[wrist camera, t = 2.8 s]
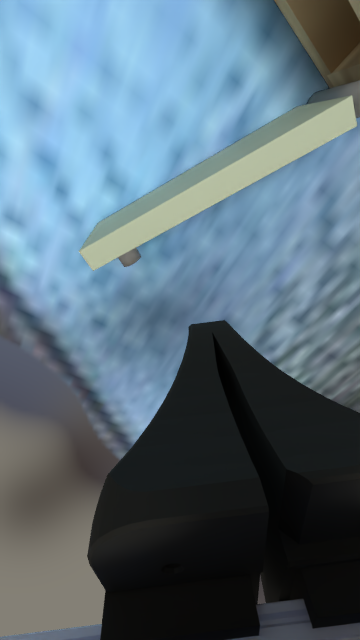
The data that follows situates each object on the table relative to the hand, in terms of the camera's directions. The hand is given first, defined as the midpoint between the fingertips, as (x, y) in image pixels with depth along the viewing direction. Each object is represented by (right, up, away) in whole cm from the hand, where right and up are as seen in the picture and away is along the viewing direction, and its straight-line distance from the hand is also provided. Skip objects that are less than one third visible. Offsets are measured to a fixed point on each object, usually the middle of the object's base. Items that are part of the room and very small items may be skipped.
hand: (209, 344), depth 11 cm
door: (+1, +8, +5) cm, 10 cm away
